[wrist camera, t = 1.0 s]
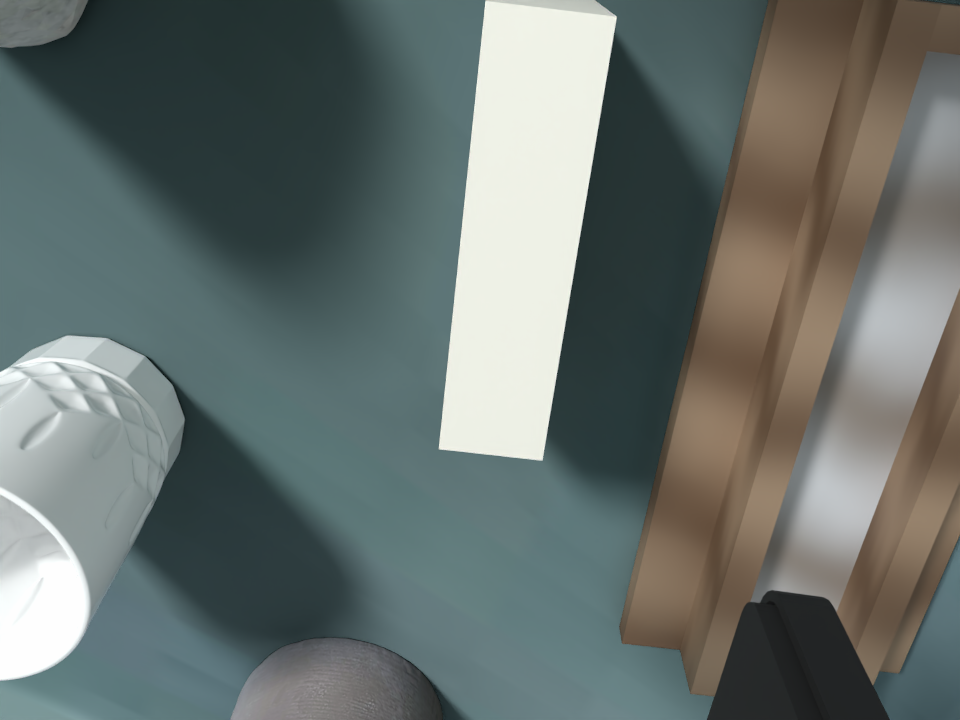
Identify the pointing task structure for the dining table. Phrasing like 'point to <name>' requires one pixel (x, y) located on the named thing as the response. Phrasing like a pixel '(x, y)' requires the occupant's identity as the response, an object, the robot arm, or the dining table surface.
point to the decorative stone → (37, 20)
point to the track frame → (820, 347)
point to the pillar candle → (336, 685)
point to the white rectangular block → (522, 219)
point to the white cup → (74, 487)
